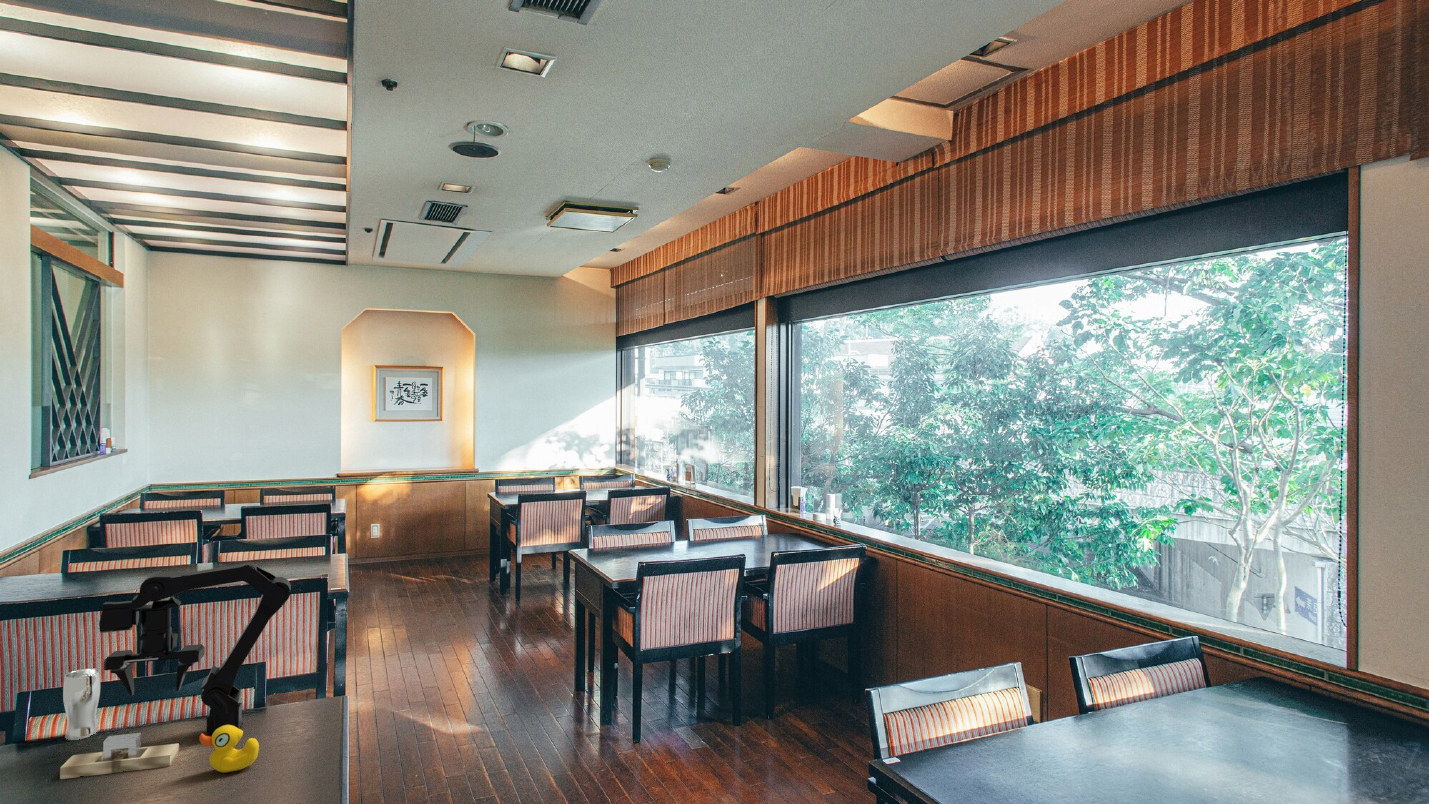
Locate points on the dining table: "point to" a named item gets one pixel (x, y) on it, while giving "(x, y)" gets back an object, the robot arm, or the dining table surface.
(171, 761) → the rail
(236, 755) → the duckling
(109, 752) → the clip
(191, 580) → the robot arm
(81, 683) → the beer glass
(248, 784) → the dining table surface
